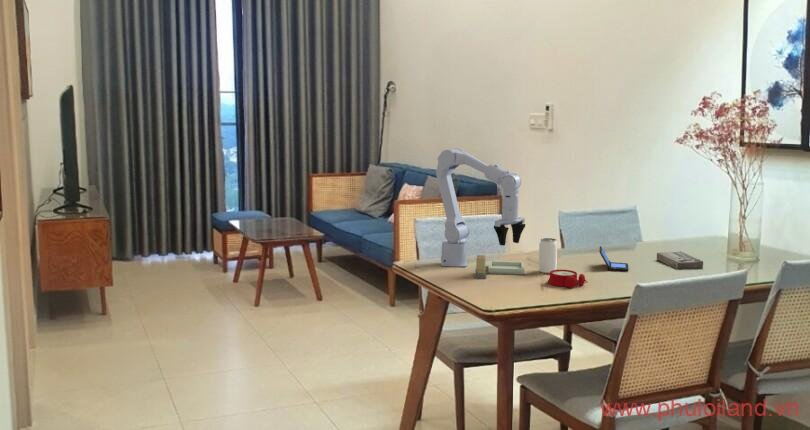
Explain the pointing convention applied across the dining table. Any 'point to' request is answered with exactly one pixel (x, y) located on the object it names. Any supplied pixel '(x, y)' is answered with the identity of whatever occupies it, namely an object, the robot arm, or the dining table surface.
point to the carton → (480, 263)
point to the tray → (506, 267)
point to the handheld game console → (613, 263)
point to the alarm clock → (565, 278)
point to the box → (679, 260)
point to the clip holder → (480, 274)
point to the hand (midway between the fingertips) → (509, 244)
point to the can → (547, 255)
